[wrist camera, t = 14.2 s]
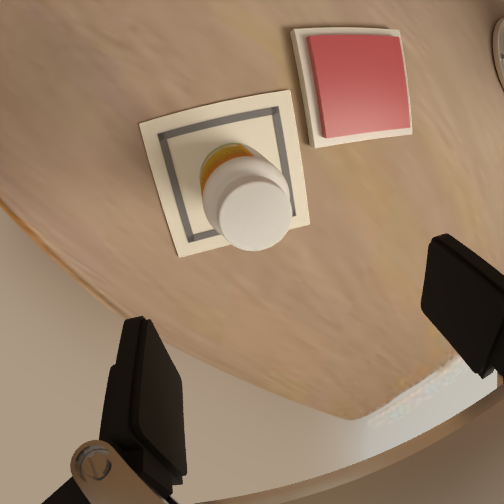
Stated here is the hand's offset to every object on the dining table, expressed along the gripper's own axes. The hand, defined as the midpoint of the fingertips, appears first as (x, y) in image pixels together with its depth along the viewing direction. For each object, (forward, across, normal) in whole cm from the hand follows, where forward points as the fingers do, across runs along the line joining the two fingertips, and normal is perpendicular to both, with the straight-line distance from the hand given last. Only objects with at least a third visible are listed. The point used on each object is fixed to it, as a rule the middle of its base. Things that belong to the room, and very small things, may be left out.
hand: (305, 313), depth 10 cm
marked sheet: (+18, 0, 0) cm, 18 cm away
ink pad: (+18, -12, -6) cm, 22 cm away
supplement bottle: (+18, 0, 0) cm, 18 cm away
